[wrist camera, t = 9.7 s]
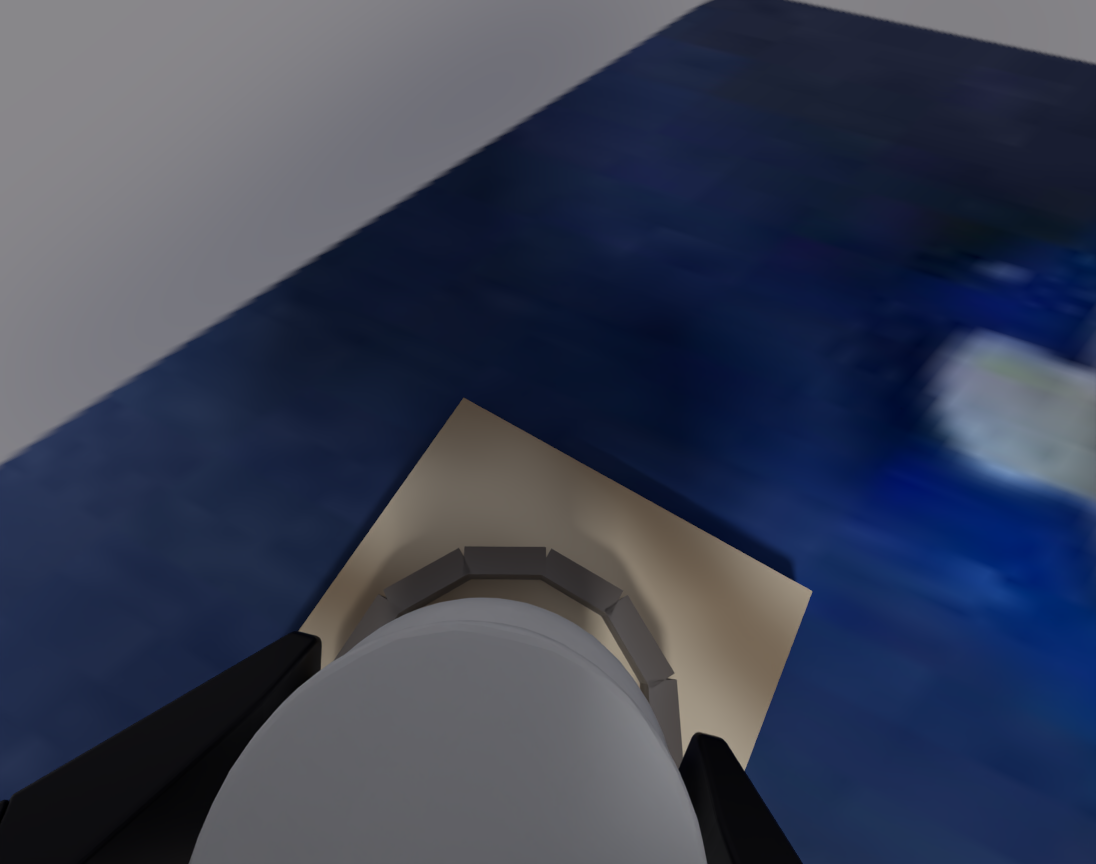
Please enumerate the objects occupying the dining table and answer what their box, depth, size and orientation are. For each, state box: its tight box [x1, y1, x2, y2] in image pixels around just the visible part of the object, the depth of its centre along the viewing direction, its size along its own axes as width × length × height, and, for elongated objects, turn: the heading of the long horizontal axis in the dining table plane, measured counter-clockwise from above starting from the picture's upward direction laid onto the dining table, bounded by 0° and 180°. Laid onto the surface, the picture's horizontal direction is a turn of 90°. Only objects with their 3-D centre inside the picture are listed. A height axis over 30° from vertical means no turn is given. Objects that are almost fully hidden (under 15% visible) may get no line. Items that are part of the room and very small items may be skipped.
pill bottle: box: [189, 598, 707, 864], centre depth 9 cm, size 6×6×10 cm
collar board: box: [299, 398, 812, 771], centre depth 16 cm, size 16×13×2 cm
